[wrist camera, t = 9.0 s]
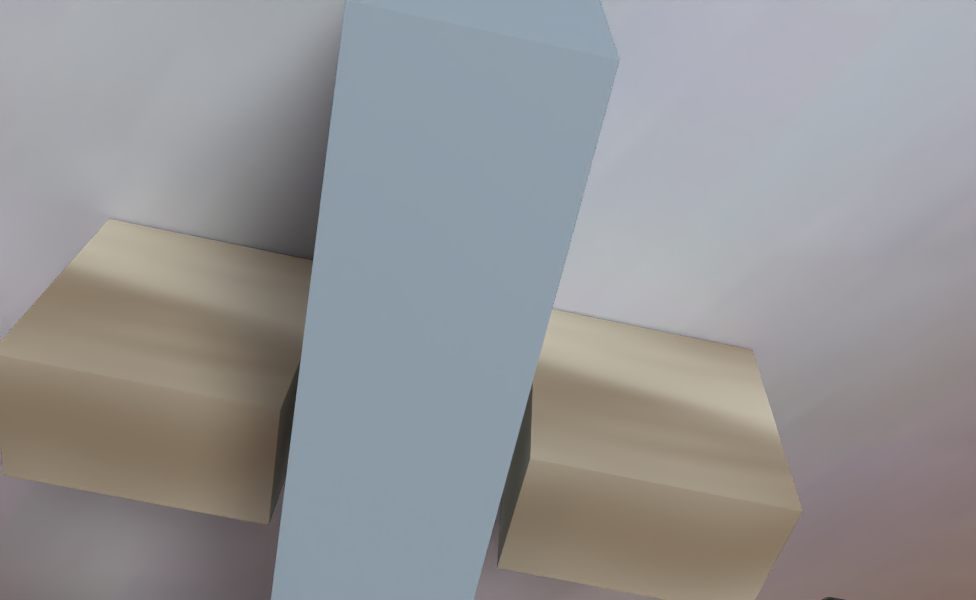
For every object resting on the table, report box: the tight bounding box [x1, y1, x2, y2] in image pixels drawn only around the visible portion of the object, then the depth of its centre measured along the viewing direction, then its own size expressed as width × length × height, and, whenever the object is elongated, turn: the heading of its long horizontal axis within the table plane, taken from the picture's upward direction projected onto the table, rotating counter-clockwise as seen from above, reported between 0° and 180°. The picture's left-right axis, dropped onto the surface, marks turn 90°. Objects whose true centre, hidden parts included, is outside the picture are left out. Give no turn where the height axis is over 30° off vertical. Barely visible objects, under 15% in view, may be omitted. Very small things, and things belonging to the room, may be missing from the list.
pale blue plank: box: [271, 0, 620, 600], centre depth 14 cm, size 12×3×7 cm, turn 169°
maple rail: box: [0, 219, 803, 600], centre depth 17 cm, size 3×13×4 cm, turn 79°
